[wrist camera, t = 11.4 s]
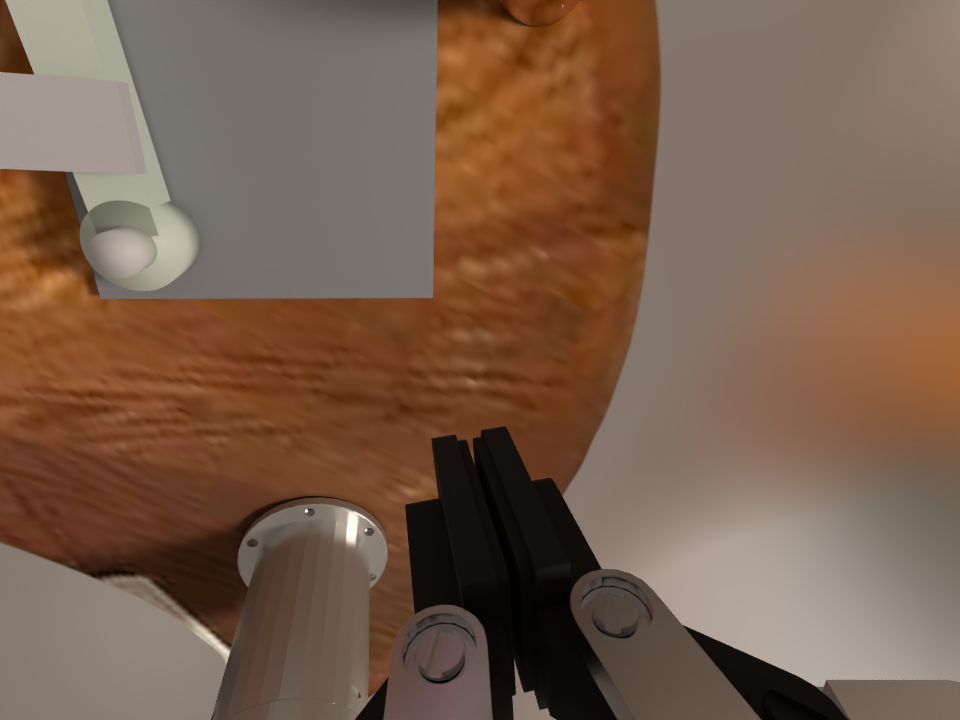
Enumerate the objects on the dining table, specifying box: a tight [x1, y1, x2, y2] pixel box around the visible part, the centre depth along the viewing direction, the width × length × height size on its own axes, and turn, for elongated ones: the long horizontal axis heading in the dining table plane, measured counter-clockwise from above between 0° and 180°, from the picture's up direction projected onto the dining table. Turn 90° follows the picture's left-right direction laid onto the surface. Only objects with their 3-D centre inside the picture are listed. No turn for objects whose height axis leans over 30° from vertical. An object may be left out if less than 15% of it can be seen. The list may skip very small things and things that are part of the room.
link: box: [5, 0, 200, 291], centre depth 24 cm, size 18×5×5 cm, turn 3°
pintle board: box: [0, 0, 438, 299], centre depth 26 cm, size 20×22×6 cm
